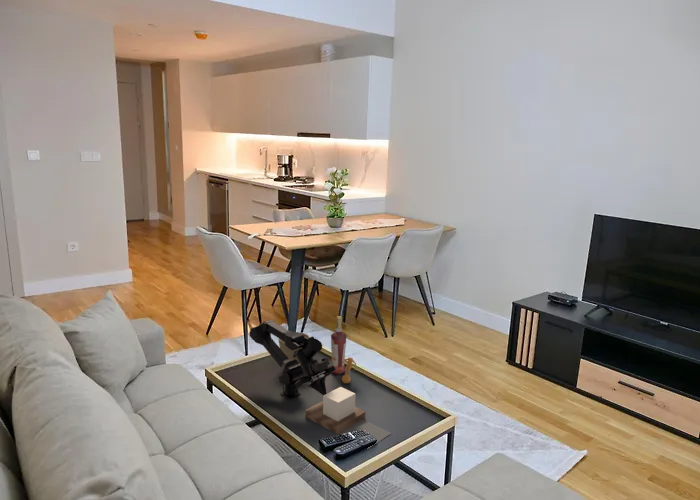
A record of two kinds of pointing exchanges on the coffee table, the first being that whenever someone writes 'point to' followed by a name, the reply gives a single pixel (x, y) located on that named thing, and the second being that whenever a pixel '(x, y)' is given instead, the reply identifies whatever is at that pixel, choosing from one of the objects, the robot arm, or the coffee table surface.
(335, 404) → the beige block
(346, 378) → the figurine
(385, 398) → the coffee table surface
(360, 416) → the walnut board
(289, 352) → the plant pot
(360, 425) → the mat
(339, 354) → the liquor
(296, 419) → the coffee table surface
